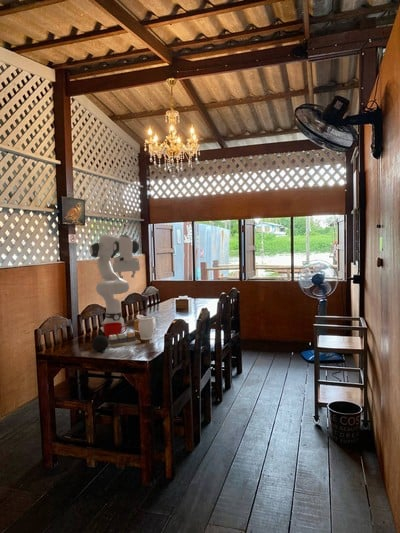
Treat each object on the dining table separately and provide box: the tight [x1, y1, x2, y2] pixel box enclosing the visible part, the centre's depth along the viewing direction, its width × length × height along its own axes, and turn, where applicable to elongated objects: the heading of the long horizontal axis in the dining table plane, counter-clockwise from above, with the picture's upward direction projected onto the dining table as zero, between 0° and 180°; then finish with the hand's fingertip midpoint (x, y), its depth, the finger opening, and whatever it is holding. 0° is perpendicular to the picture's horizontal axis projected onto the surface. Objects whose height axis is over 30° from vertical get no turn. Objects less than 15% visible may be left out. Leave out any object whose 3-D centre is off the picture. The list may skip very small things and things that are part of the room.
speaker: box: [91, 335, 108, 352], centre depth 243 cm, size 10×10×10 cm
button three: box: [125, 331, 135, 337], centre depth 264 cm, size 4×4×3 cm
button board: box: [107, 335, 142, 349], centre depth 261 cm, size 11×22×4 cm, turn 122°
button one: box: [109, 335, 117, 340], centre depth 257 cm, size 4×4×3 cm
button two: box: [118, 332, 126, 339], centre depth 260 cm, size 4×4×3 cm
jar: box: [137, 315, 155, 341], centre depth 273 cm, size 11×10×15 cm
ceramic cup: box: [102, 322, 128, 339], centre depth 277 cm, size 13×17×10 cm
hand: (127, 278), depth 272 cm, fingers open, 8 cm apart
